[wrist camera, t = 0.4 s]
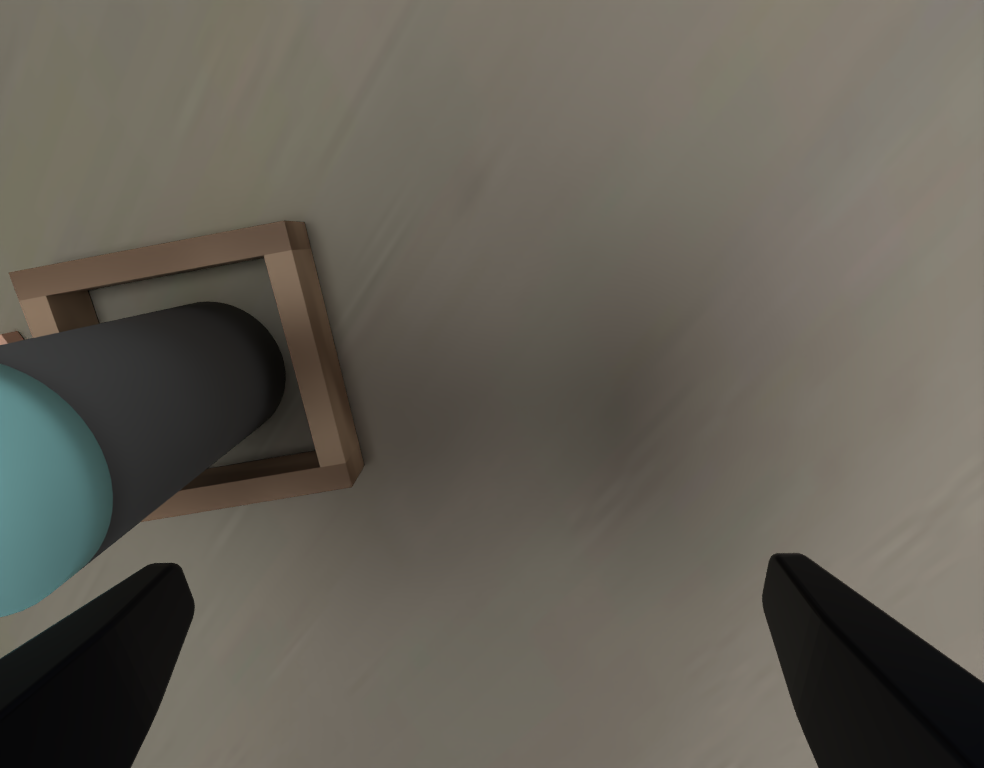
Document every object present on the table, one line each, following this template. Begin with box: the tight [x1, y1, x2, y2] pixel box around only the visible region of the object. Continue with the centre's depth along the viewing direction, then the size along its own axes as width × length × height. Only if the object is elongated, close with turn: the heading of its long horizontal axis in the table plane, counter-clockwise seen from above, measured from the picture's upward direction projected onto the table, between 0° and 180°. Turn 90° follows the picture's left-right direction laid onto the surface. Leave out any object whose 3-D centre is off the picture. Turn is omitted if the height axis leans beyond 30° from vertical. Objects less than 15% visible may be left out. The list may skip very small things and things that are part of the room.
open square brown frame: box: [9, 221, 364, 522], centre depth 23 cm, size 10×10×2 cm
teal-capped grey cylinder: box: [0, 302, 285, 617], centre depth 18 cm, size 6×6×12 cm
